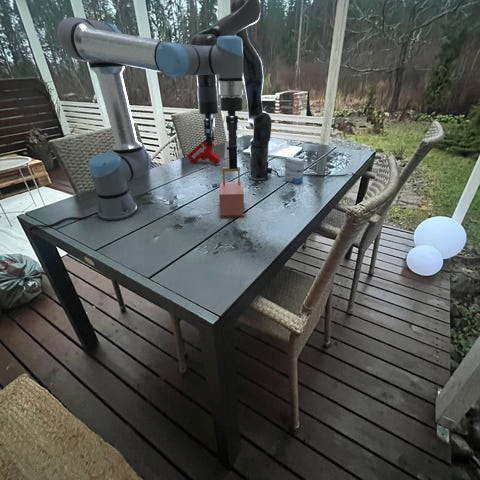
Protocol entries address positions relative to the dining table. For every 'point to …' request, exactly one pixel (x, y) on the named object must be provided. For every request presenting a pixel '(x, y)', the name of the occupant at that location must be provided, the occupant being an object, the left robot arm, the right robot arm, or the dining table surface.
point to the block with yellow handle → (231, 185)
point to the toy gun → (203, 153)
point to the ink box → (294, 170)
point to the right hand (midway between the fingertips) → (210, 143)
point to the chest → (231, 206)
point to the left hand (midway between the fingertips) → (232, 162)
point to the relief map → (280, 150)
